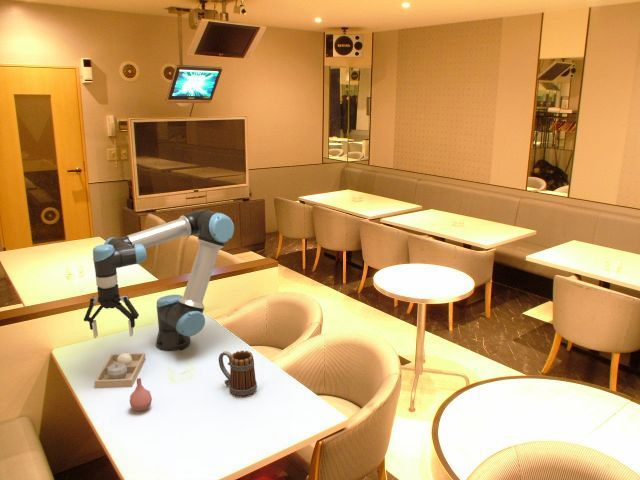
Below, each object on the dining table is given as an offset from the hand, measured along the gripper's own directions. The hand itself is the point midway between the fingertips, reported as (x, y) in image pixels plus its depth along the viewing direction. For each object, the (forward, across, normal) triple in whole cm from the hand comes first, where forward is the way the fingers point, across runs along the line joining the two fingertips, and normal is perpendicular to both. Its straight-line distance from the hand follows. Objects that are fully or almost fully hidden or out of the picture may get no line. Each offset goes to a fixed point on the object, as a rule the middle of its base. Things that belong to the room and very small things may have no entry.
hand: (113, 335), depth 215 cm
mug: (+20, -48, +13) cm, 53 cm away
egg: (+18, 0, -9) cm, 20 cm away
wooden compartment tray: (+19, 0, -4) cm, 19 cm away
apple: (+18, 0, +2) cm, 19 cm away
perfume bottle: (+19, -14, +23) cm, 33 cm away
